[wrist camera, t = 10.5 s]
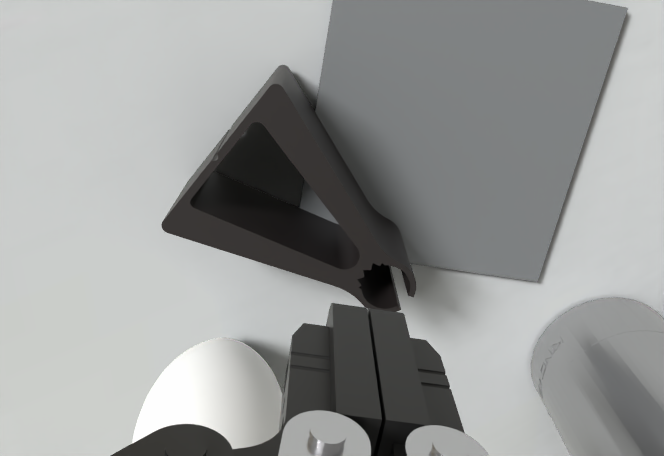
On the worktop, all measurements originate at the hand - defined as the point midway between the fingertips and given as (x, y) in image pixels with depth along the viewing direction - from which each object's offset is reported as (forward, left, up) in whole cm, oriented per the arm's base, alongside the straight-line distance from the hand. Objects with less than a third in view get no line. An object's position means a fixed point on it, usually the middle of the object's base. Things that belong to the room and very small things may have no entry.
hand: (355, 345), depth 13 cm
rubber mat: (-7, 0, -23) cm, 24 cm away
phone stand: (+6, +1, -20) cm, 20 cm away
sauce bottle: (+4, +17, -23) cm, 29 cm away
